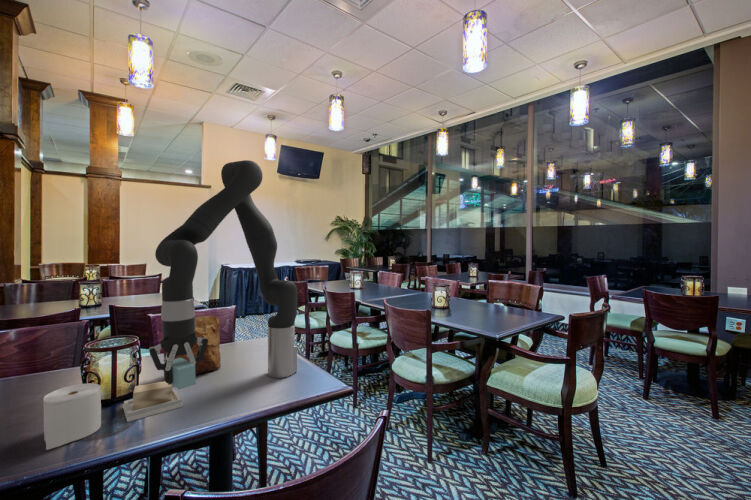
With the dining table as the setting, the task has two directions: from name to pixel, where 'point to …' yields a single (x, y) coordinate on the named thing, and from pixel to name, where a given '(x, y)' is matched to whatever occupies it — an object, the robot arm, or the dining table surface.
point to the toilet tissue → (71, 414)
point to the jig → (151, 407)
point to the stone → (210, 331)
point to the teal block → (183, 373)
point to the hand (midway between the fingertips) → (180, 380)
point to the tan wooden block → (151, 395)
